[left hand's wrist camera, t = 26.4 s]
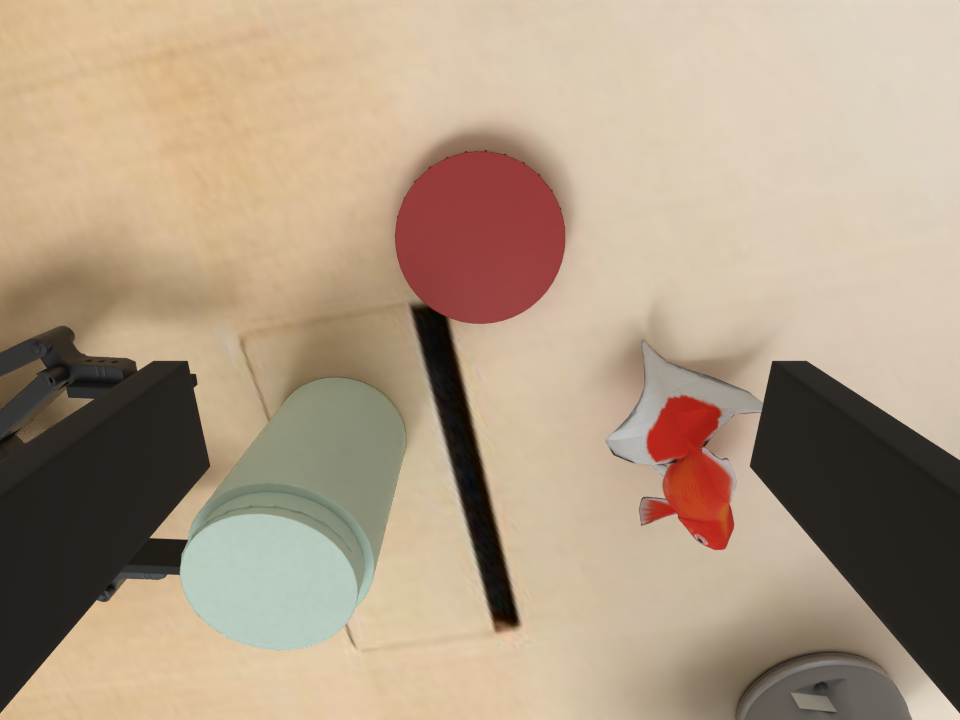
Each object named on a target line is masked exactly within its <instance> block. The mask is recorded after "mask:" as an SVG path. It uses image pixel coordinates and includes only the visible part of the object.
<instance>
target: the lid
mask: <svg viewBox="0 0 960 720" xmlns="http://www.w3.org/2000/svg"><path fill="white" fill-rule="evenodd" d="M506 155H507V154H504V155H502V154H498V153H492V152H487V150H485V152H468V153H467V151H465V153H463V154H459V155H455V156H452V157H450V158H449V157H446V159H445V160H443V161H441V162H439V163H437V164H436V165H434V166H433V167H432V166H431V167H429V170H427V171H426V172H425V173H424V174H423V175H422V176H421V177H420V178H419V179H418V180H416V181H415V183H414V185H413V186H412V187H411V189H410V190H409V192H408V193H407V195H406V197H404V201H403V203H402V206H401V208H400V211H399V215H398V216H397V218H398V219H397V223H396V232H395V243H396V252H397V257H398V261H399V264H400V267H401V270H402V272H403V274H404V277H405V279H406V280H407V282H408V284H409V285H410V287H411V288H412V289H413V291H414V292H415V293H416V295H417V296H418V297H419V298H420V299H421V300H422V301H423V302H424V303H426V304H427V305H428V306H429V307H431V308H432V309H433V310H435V311H437V312H439V313H440V314H442V315H444V316H447V317H449V318H451V319H454V320H458V321H461V322H467V323H477V324H485V323H494V322H499V321H503V320H506V319H509V318H512V317H514V316H516V315H518V314H520V313H522V312H524V311H525V310H527V309H528V308H530V307H531V306H532V305H534V304H535V303H536V302H537V301H538V300H539V299H540V298H541V297H542V296H543V295H544V294H545V293H546V292H547V290H548V289H549V287H550V286H551V284H552V283H553V281H554V279H555V277H556V275H557V273H558V271H559V268H560V266H561V263H562V259H563V254H564V248H565V226H564V221H563V216H562V213H561V210H560V209H561V208H560V207H559V204H558V202H557V200H556V198H555V196H554V194H553V193H552V190H551V189H550V188H549V186H548V185H547V184H546V183H545V182H544V180H543V179H542V178H541V177H540V174H537V173H536V172H534V171H533V170H532V169H531V168H529V167H528V166H526V165H525V163H524V162H520V161H518V160H515V159H513V158H511V157H508V156H506Z"/></svg>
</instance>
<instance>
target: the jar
mask: <svg viewBox="0 0 960 720" xmlns="http://www.w3.org/2000/svg"><path fill="white" fill-rule="evenodd" d="M405 447H406V431H405V427H404V423H403V420H402V418H401V416H400V414H399V412H398V411H397V409H396V408H395V406H394V405H393V404H392V402H391V401H390V400H389V399H388V398H387V397H386V396H385V395H383V394H382V393H381V392H379V391H378V390H376V389H375V388H373V387H371V386H370V385H367V384H365V383H363V382H360V381H357V380H353V379H348V378H339V377H332V378H323V379H318V380H315V381H311V382H309V383H307V384H305V385H303V386H301V387H300V388H298V389H296V390H295V391H294V392H293V393H292V394H291V395H290V396H289V397H288V398H287V399H286V401H285V402H284V403H283V404H282V406H281V407H280V408H279V410H278V411H277V412H276V413H275V415H274V416H273V417H272V419H271V420H270V421H269V422H268V424H267V425H266V426H265V428H264V429H263V430H262V432H261V433H260V434H259V435H258V437H257V438H256V439H255V441H254V442H253V443H252V444H251V446H250V447H249V448H248V450H247V451H246V452H245V453H244V455H243V456H242V457H241V459H240V460H239V461H238V463H237V464H236V465H235V466H234V468H233V469H232V470H231V472H230V473H229V474H228V475H227V477H226V478H225V479H224V481H223V482H222V483H221V484H220V486H219V487H218V488H217V490H216V491H215V492H214V494H213V495H212V496H211V497H210V499H209V500H208V501H207V503H206V504H205V505H204V506H203V508H202V509H201V510H200V512H199V513H198V514H197V516H196V518H195V520H194V521H193V524H192V526H191V529H190V532H189V537H188V542H187V544H186V547H185V549H184V551H183V552H182V558H181V566H180V578H181V584H182V588H183V591H184V594H185V596H186V598H187V600H188V602H189V603H190V605H191V606H192V608H193V609H194V611H195V612H196V613H197V614H198V615H199V616H200V618H201V619H202V620H204V621H205V622H206V623H207V624H208V625H209V626H211V627H212V628H213V629H215V630H216V631H218V632H219V633H221V634H223V635H224V636H226V637H227V638H230V639H232V640H235V641H237V642H240V643H242V644H245V645H248V646H252V647H256V648H262V649H268V650H294V649H301V648H305V647H309V646H313V645H315V644H318V643H321V642H323V641H325V640H327V639H329V638H330V637H332V636H333V635H335V634H336V633H337V632H338V631H339V630H341V629H342V628H343V627H344V626H345V624H346V623H347V622H348V621H349V619H350V617H351V616H352V614H353V612H354V609H355V608H356V607H357V606H358V605H359V604H360V603H361V601H362V600H363V599H364V598H365V596H366V594H367V593H368V591H369V589H370V586H371V584H372V581H373V577H374V573H375V569H376V565H377V561H378V557H379V553H380V549H381V545H382V541H383V537H384V533H385V529H386V525H387V521H388V517H389V513H390V509H391V505H392V501H393V497H394V493H395V489H396V485H397V481H398V477H399V473H400V469H401V465H402V461H403V457H404V453H405Z"/></svg>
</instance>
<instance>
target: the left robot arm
mask: <svg viewBox="0 0 960 720" xmlns="http://www.w3.org/2000/svg"><path fill="white" fill-rule="evenodd" d="M209 467H210V463H209V458H208V454H207V449H206V444H205V440H204V435H203V430H202V426H201V421H200V416H199V412H198V407H197V402H196V398H195V393H194V388H193V384H192V379H191V375H190V370H189V365H188V361H153V362H151V363H150V364H148V365H147V366H145V367H143V368H142V369H140V370H139V371H137V372H136V373H134V374H133V375H131V376H130V377H128V378H126V379H125V380H123V381H122V382H120V383H119V384H117V385H116V386H114V387H113V388H111V389H109V390H108V391H106V392H105V393H103V394H102V395H100V396H99V397H97V398H96V399H94V400H93V401H91V402H89V403H88V404H86V405H85V406H83V407H82V408H80V409H79V410H77V411H76V412H74V413H72V414H71V415H69V416H68V417H66V418H65V419H63V420H62V421H60V422H59V423H57V424H56V425H54V426H52V427H51V428H49V429H48V430H46V431H45V432H43V433H42V434H40V435H39V436H37V437H35V438H34V439H32V440H31V441H29V442H28V443H26V444H25V445H23V446H22V447H20V448H18V449H17V450H15V451H14V452H12V453H11V454H9V455H8V456H6V457H5V458H3V459H2V460H0V713H1V712H2V711H3V709H4V708H5V707H6V706H7V705H8V703H9V702H10V701H11V700H12V699H13V698H14V696H15V695H16V694H17V693H18V692H19V691H20V689H21V688H22V687H23V686H24V685H25V684H26V682H27V681H28V680H29V679H30V678H31V676H32V675H33V674H34V673H35V672H36V671H37V669H38V668H39V667H40V666H41V665H42V664H43V662H44V661H45V660H46V659H47V658H48V656H49V655H50V654H51V653H52V652H53V651H54V649H55V648H56V647H57V646H58V645H59V644H60V642H61V641H62V640H63V639H64V638H65V636H66V635H67V634H68V633H69V632H70V631H71V629H72V628H73V627H74V626H75V625H76V624H77V622H78V621H79V620H80V619H81V618H82V617H83V615H84V614H85V613H86V612H87V611H88V609H89V608H90V607H91V606H92V605H93V604H94V602H95V601H96V600H97V599H98V598H99V597H100V595H101V594H102V593H103V592H104V591H105V589H106V588H107V587H108V586H109V585H110V584H111V582H112V581H113V580H114V579H115V578H116V577H117V575H118V574H119V573H120V572H121V571H122V569H123V568H124V567H125V566H126V565H127V564H128V562H129V561H130V560H131V559H132V558H133V557H134V555H135V554H136V553H137V552H138V551H139V550H140V548H141V547H142V546H143V545H144V544H145V542H146V541H147V540H148V539H149V538H150V537H151V535H152V534H153V533H154V532H155V531H156V530H157V528H158V527H159V526H160V525H161V524H162V522H163V521H164V520H165V519H166V518H167V517H168V515H169V514H170V513H171V512H172V511H173V510H174V508H175V507H176V506H177V505H178V504H179V502H180V501H181V500H182V499H183V498H184V497H185V495H186V494H187V493H188V492H189V491H190V490H191V488H192V487H193V486H194V485H195V484H196V483H197V481H198V480H199V479H200V478H201V477H202V475H203V474H204V473H205V472H206V471H207V470H208V468H209ZM750 467H751V468H752V470H753V471H754V472H755V473H756V474H757V475H758V477H759V478H760V479H761V480H762V481H763V483H764V484H765V485H766V486H767V487H768V488H769V490H770V491H771V492H772V493H773V494H774V495H775V497H776V498H777V499H778V500H779V501H780V503H781V504H782V505H783V506H784V507H785V508H786V510H787V511H788V512H789V513H790V514H791V515H792V517H793V518H794V519H795V520H796V521H797V522H798V524H799V525H800V526H801V527H802V528H803V530H804V531H805V532H806V533H807V534H808V535H809V537H810V538H811V539H812V540H813V541H814V542H815V544H816V545H817V546H818V547H819V548H820V550H821V551H822V552H823V553H824V554H825V555H826V557H827V558H828V559H829V560H830V561H831V562H832V564H833V565H834V566H835V567H836V568H837V569H838V571H839V572H840V573H841V574H842V575H843V577H844V578H845V579H846V580H847V581H848V582H849V584H850V585H851V586H852V587H853V588H854V589H855V591H856V592H857V593H858V594H859V595H860V597H861V598H862V599H863V600H864V601H865V602H866V604H867V605H868V606H869V607H870V608H871V609H872V611H873V612H874V613H875V614H876V615H877V617H878V618H879V619H880V620H881V621H882V622H883V624H884V625H885V626H886V627H887V628H888V629H889V631H890V632H891V633H892V634H893V635H894V636H895V638H896V639H897V640H898V641H899V642H900V644H901V645H902V646H903V647H904V648H905V649H906V651H907V652H908V653H909V654H910V655H911V656H912V658H913V659H914V660H915V661H916V662H917V664H918V665H919V666H920V667H921V668H922V669H923V671H924V672H925V673H926V674H927V675H928V676H929V678H930V679H931V680H932V681H933V682H934V684H935V685H936V686H937V687H938V688H939V689H940V691H941V692H942V693H943V694H944V695H945V696H946V698H947V699H948V700H949V701H950V702H951V703H952V705H953V706H954V707H955V708H956V709H957V711H958V712H959V713H960V460H958V459H957V458H955V457H954V456H952V455H951V454H949V453H948V452H946V451H945V450H943V449H942V448H940V447H938V446H937V445H935V444H934V443H932V442H931V441H929V440H928V439H926V438H925V437H923V436H921V435H920V434H918V433H917V432H915V431H914V430H912V429H911V428H909V427H908V426H906V425H904V424H903V423H901V422H900V421H898V420H897V419H895V418H894V417H892V416H891V415H889V414H888V413H886V412H884V411H883V410H881V409H880V408H878V407H877V406H875V405H874V404H872V403H871V402H869V401H867V400H866V399H864V398H863V397H861V396H860V395H858V394H857V393H855V392H854V391H852V390H851V389H849V388H847V387H846V386H844V385H843V384H841V383H840V382H838V381H837V380H835V379H834V378H832V377H830V376H829V375H827V374H826V373H824V372H823V371H821V370H820V369H818V368H817V367H815V366H813V365H812V364H810V363H809V362H807V361H772V365H771V370H770V375H769V379H768V384H767V388H766V393H765V398H764V402H763V407H762V412H761V416H760V421H759V426H758V430H757V435H756V440H755V444H754V449H753V454H752V458H751V463H750ZM736 720H912V718H911V716H910V713H909V711H908V707H907V705H906V702H905V700H904V698H903V697H902V695H901V693H900V692H899V690H898V688H897V687H896V685H895V684H894V683H893V681H892V680H891V679H890V678H889V676H888V675H887V674H886V672H885V671H884V670H883V669H882V668H881V667H879V666H878V665H877V664H875V663H874V662H872V661H870V660H868V659H866V658H863V657H860V656H856V655H852V654H846V653H818V654H811V655H806V656H802V657H799V658H795V659H792V660H789V661H787V662H784V663H782V664H780V665H778V666H776V667H774V668H772V669H771V670H769V671H767V672H766V673H765V674H763V675H762V676H760V677H759V678H758V679H757V680H756V681H755V682H754V683H753V684H752V685H751V686H750V687H749V688H748V689H747V690H746V692H745V693H744V695H743V696H742V698H741V700H740V702H739V705H738V708H737V714H736Z"/></svg>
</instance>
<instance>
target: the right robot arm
mask: <svg viewBox="0 0 960 720" xmlns="http://www.w3.org/2000/svg"><path fill="white" fill-rule="evenodd" d="M74 339H75V335H74V333H73V331H72V330H71V329H70V328H68V327H66V326H60V327H57V328H55V329H52V330H50V331H47V332H45V333H43V334H40V335H38V336H36V337H33V338H31V339H29V340H26V341H24V342H22V343H20V344H18V345H16V346H14V347H12V348H10V349H8V350H5V351H3V352H1V353H0V376H3V375H5V374H7V373H9V372H11V371H13V370H15V369H17V368H20V367H22V366H24V365H26V364H28V363H30V362H32V361H35V360H37V359H39V358H41V360H42V361H43V363H44V364H45V366H46V367H47V369H45V370H43V371H41V372H39V373H37V375H39V374H40V375H39V376H38V377H37V378H35V379H34V380H33V381H32V382H31V383H30V384H29V385H28V386H27V387H26V388H24V389H23V390H22V391H21V392H20V393H19V394H18V395H17V396H16V397H15V398H13V399H12V400H11V401H10V402H9V403H8V404H7V405H6V406H5V407H4V408H2V409H1V410H0V460H2V459H3V458H5V457H6V456H8V455H9V454H11V453H12V452H14V451H15V450H17V449H18V448H20V447H22V446H23V445H25V444H26V443H24V442H23V441H22V440H21V439H20V438H19V437H18V436H16V434H18V433H19V432H20V431H21V430H22V429H23V428H24V427H25V426H27V425H28V424H29V423H30V422H31V421H32V420H33V418H34V417H35V416H36V415H37V414H38V413H40V412H41V411H42V410H43V409H44V408H45V407H46V406H47V405H49V404H50V403H51V402H52V401H53V400H54V399H55V398H56V397H58V396H59V395H60V394H61V393H62V392H63V391H64V390H66V389H67V393H68V397H69V398H91V399H96V398H97V397H99V396H100V395H102V394H103V393H105V392H106V391H108V390H109V389H111V388H113V387H114V386H116V385H117V384H119V383H120V382H122V381H123V380H125V379H126V378H128V377H130V376H131V375H133V374H134V373H136V372H137V367H136V362H135V361H133V360H130V359H128V358H110V357H90V356H86V355H85V354H82V353H80V352H79V351H78V350H77V349H76V347H75V346H74V344H73V341H74ZM190 375H191V379H192V384H193V388H194V387H195V386H196V385H197V378H196V374H190ZM187 542H188V540H179V539H155V538H149V539H148V540H147V541H146V542H145V544H144V545H143V546H142V547H141V548H140V550H139V551H138V552H137V553H136V554H135V555H134V557H133V558H132V559H131V560H130V561H129V562H128V564H127V565H126V566H125V567H124V568H123V569H122V571H121V572H120V573H119V574H118V575H117V577H116V578H115V579H114V580H113V581H112V582H111V584H110V585H109V586H108V587H107V588H106V589H105V591H104V592H103V593H102V594H101V595H100V597H99V598H98V599H97V600H98V601H101V602H106V601H109V599H110V598H111V597H112V596H113V595H114V594H115V592H116V591H117V590H118V589H119V588H120V586H121V585H122V584H123V583H124V581H125V580H126V579H127V578H128V579H153V580H159V579H162V578H165V577H166V575H167V574H172V575H180V566H181V558H182V552H183V551H184V549H185V547H186V544H187Z"/></svg>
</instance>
